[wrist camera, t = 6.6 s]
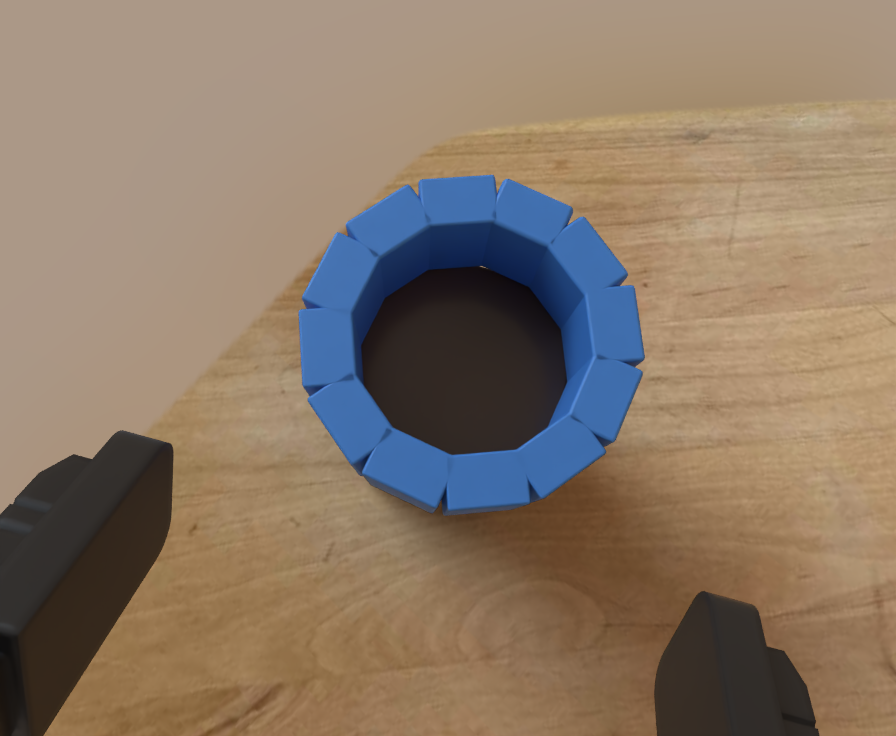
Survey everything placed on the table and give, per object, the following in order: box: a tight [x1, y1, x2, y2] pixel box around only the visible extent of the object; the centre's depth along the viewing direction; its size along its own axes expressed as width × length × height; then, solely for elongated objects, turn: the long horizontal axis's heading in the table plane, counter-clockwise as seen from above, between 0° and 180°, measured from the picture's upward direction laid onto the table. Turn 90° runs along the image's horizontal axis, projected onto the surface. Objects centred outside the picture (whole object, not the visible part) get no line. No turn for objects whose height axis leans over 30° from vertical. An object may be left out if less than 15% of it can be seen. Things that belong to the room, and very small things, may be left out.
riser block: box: [361, 266, 567, 476], centre depth 22 cm, size 5×5×10 cm
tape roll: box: [299, 175, 645, 516], centre depth 16 cm, size 6×6×3 cm
